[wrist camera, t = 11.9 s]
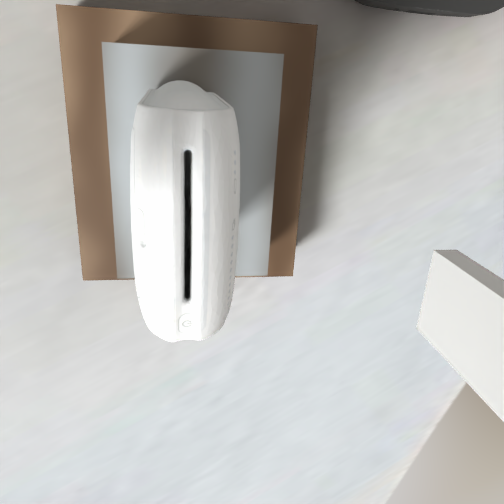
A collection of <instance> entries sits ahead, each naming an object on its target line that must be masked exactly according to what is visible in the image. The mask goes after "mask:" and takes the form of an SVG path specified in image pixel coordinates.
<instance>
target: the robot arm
mask: <svg viewBox="0 0 504 504" xmlns="http://www.w3.org/2000/svg"><path fill="white" fill-rule="evenodd" d="M416 329H417V330H418V331H419V332H420V333H421V334H422V335H423V336H424V337H425V338H426V340H427V341H428V342H429V343H430V344H431V345H432V346H433V347H434V348H435V349H436V350H437V351H438V352H439V353H440V354H441V356H442V357H443V358H444V359H445V360H446V361H447V362H448V363H449V364H450V365H451V366H452V367H453V368H454V369H455V371H456V372H457V373H458V374H459V375H460V376H461V377H462V378H463V379H464V380H465V381H466V382H467V383H468V384H469V385H470V387H471V388H473V390H474V391H475V392H476V393H477V394H478V395H479V396H480V397H481V398H482V399H483V400H484V401H485V403H486V404H487V405H488V406H489V407H490V408H491V409H492V410H493V411H494V412H495V413H496V414H497V415H498V416H499V417H500V419H501V420H502V421H503V422H504V280H503V279H502V278H500V277H498V276H497V275H495V274H494V273H492V272H491V271H489V270H488V269H486V268H484V267H483V266H481V265H480V264H478V263H477V262H475V261H473V260H472V259H470V258H469V257H467V256H466V255H464V254H463V253H461V252H459V251H458V250H434V252H433V256H432V260H431V265H430V269H429V274H428V278H427V283H426V287H425V291H424V296H423V300H422V305H421V309H420V314H419V318H418V322H417V327H416Z"/></svg>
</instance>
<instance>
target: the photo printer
mask: <svg viewBox="0 0 504 504" xmlns="http://www.w3.org/2000/svg"><path fill="white" fill-rule="evenodd" d="M130 154H131V155H130V205H131V233H132V251H133V264H134V275H135V283H136V290H137V295H138V300H139V304H140V308H141V311H142V315H143V317H144V320H145V322H146V324H147V326H148V328H149V329H150V330H151V331H152V332H153V333H154V334H155V335H157V336H158V337H160V338H162V339H164V340H166V341H169V342H177V341H181V340H188V339H190V340H198V341H200V340H204V339H207V338H209V337H210V336H212V335H214V334H215V333H216V332H218V331H219V330H220V329H221V328H222V326H223V324H224V322H225V320H226V317H227V315H228V312H229V309H230V306H231V301H232V296H233V289H234V281H235V272H236V262H237V249H238V232H239V209H240V143H239V133H238V126H237V121H236V116H235V111H234V108H233V107H232V106H231V105H230V104H228V103H227V102H226V101H225V100H223V99H222V98H221V97H219V96H218V95H217V94H215V93H213V92H205V91H204V90H203V89H202V88H200V87H199V86H198V85H196V84H194V83H191V82H188V81H183V80H176V81H171V82H168V83H166V84H164V85H162V86H161V87H159V88H158V89H149V90H148V91H147V93H146V94H145V95H144V97H143V98H142V99H141V100H140V102H139V103H138V104H137V108H136V112H135V116H134V122H133V127H132V132H131V153H130Z"/></svg>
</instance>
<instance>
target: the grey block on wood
mask: <svg viewBox="0 0 504 504" xmlns="http://www.w3.org/2000/svg"><path fill="white" fill-rule="evenodd" d="M56 11H57V21H58V31H59V42H60V52H61V62H62V72H63V82H64V92H65V102H66V113H67V123H68V133H69V143H70V153H71V163H72V173H73V184H74V194H75V204H76V214H77V224H78V234H79V244H80V255H81V265H82V275H83V280H129V279H135V275H134V264H133V251H132V233H131V205H130V155H131V154H130V153H131V132H132V127H133V122H134V116H135V112H136V108H137V104H138V103H139V102H140V100H141V99H142V98H143V97H144V95H145V94H146V93H147V91H148V90H149V89H158V88H159V87H161V86H162V85H164V84H166V83H168V82H171V81H176V80H183V81H188V82H191V83H194V84H196V85H198V86H199V87H200V88H202V89H203V90H204V91H205V92H213V93H215V94H217V95H218V96H219V97H221V98H222V99H223V100H225V101H226V102H227V103H228V104H230V105H231V106H232V107H233V108H234V111H235V116H236V121H237V126H238V133H239V143H240V209H239V232H238V249H237V262H236V272H235V277H273V276H293V269H294V259H295V248H296V238H297V228H298V218H299V208H300V198H301V188H302V178H303V167H304V157H305V147H306V137H307V127H308V117H309V107H310V96H311V86H312V76H313V66H314V56H315V46H316V36H317V26H318V25H311V24H299V23H286V22H273V21H261V20H248V19H236V18H223V17H210V16H198V15H185V14H173V13H160V12H147V11H135V10H122V9H110V8H97V7H84V6H72V5H59V4H56Z"/></svg>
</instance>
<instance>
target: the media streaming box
mask: <svg viewBox="0 0 504 504" xmlns="http://www.w3.org/2000/svg"><path fill="white" fill-rule="evenodd" d="M355 1H357V2H359V3H361V4H363V5H367V6H372V7H378V8H383V9H389V10H396V11H403V12H410V13H418V14H428V15H440V16H456V17H471V16H477V15H483V14H489V13H492V12H495V11H497V10H499V9H501V8H502V7H504V0H355Z"/></svg>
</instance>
